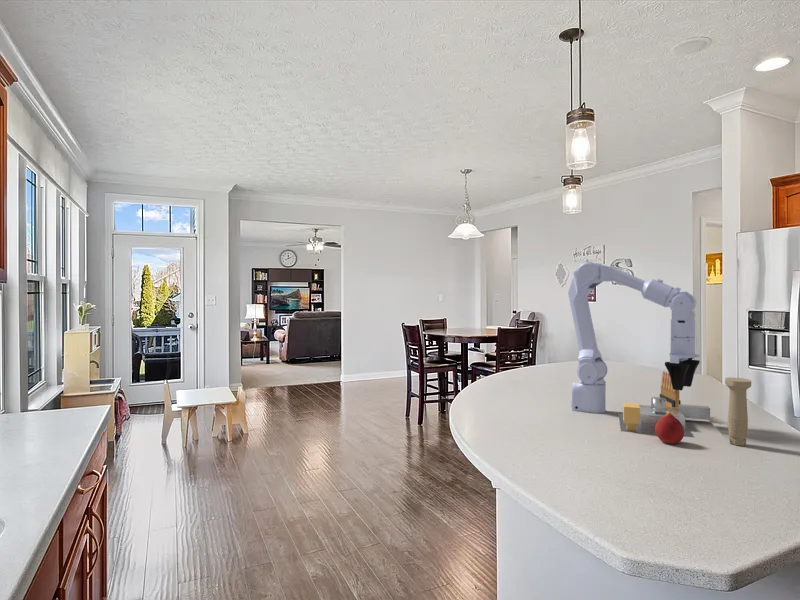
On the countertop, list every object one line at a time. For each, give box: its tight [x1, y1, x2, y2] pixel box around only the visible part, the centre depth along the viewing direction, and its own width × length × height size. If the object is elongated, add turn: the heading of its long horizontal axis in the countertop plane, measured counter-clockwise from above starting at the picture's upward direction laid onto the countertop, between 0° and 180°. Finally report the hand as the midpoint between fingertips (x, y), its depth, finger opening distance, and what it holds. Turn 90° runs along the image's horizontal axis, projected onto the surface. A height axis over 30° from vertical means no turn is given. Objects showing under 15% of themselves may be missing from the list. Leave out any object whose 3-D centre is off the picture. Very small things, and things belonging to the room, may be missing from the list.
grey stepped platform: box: [617, 396, 711, 438], centre depth 135 cm, size 22×21×6 cm
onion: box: [655, 412, 685, 445], centre depth 119 cm, size 6×6×8 cm
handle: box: [724, 377, 752, 447], centre depth 121 cm, size 5×6×15 cm
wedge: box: [622, 402, 640, 431], centre depth 131 cm, size 4×6×6 cm, turn 159°
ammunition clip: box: [659, 370, 682, 408], centre depth 152 cm, size 11×2×12 cm, turn 174°
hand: (682, 388), depth 140 cm, fingers open, 7 cm apart
